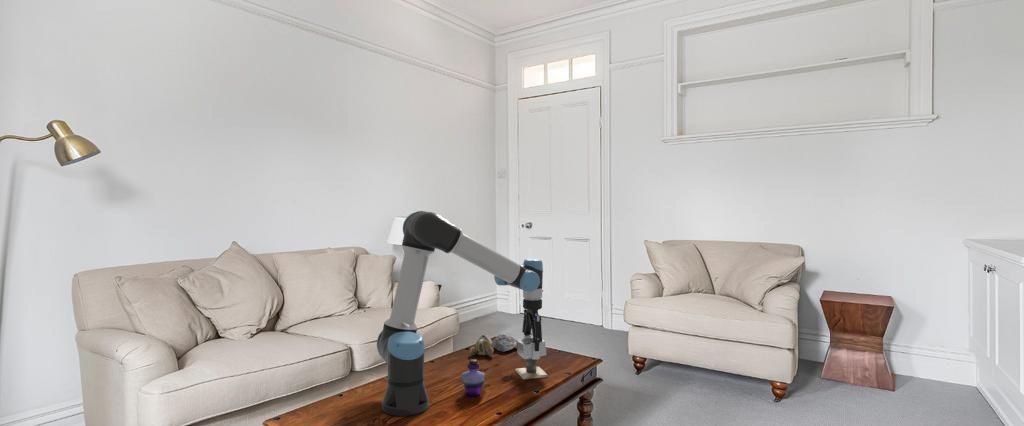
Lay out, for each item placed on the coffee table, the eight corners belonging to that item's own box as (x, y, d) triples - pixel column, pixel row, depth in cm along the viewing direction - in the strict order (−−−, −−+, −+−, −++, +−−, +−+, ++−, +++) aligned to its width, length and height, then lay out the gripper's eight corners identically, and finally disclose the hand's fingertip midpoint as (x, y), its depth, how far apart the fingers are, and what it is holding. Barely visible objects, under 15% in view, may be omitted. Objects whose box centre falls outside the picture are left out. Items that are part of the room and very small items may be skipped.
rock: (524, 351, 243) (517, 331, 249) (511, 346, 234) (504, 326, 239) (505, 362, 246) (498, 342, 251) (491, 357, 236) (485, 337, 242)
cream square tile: (523, 379, 202) (523, 363, 202) (515, 371, 211) (515, 356, 211) (547, 377, 205) (547, 361, 205) (538, 369, 214) (539, 354, 214)
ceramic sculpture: (497, 331, 240) (492, 341, 225) (497, 349, 241) (492, 361, 226) (474, 330, 241) (467, 340, 227) (474, 348, 242) (467, 360, 227)
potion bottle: (489, 396, 184) (489, 362, 184) (465, 400, 180) (466, 365, 180) (479, 388, 192) (479, 355, 191) (457, 391, 188) (457, 358, 187)
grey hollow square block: (524, 359, 202) (523, 345, 202) (517, 353, 211) (516, 339, 211) (546, 355, 205) (545, 341, 205) (538, 349, 213) (537, 335, 213)
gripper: (551, 303, 198) (550, 362, 199) (532, 293, 219) (531, 347, 219) (532, 304, 196) (531, 364, 196) (515, 293, 217) (514, 348, 217)
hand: (531, 355), depth 208 cm, fingers closed on grey hollow square block, 9 cm apart
